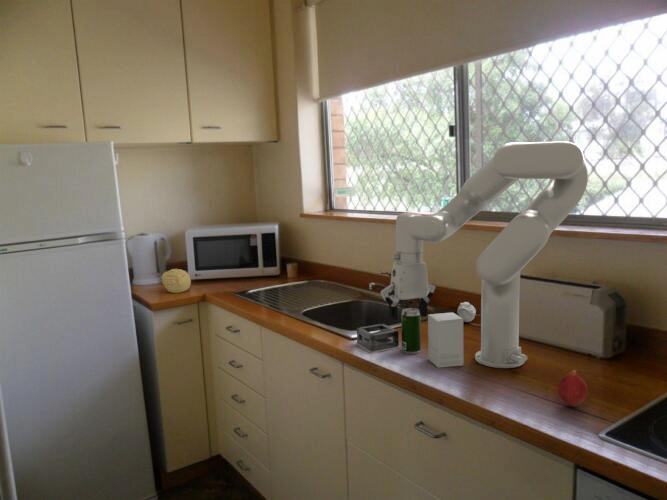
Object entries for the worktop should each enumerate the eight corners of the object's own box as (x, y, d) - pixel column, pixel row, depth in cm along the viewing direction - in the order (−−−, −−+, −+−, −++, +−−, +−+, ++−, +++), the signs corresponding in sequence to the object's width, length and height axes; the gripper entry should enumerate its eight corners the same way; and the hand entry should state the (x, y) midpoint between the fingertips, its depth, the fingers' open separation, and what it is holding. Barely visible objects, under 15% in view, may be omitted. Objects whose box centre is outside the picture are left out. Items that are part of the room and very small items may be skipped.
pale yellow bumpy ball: (159, 293, 241) (157, 270, 240) (176, 288, 252) (174, 265, 251) (179, 295, 237) (177, 271, 235) (196, 289, 248) (194, 266, 246)
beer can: (410, 355, 148) (410, 313, 146) (398, 350, 152) (397, 310, 150) (425, 351, 151) (424, 310, 149) (412, 347, 155) (411, 306, 153)
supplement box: (464, 365, 139) (464, 318, 137) (437, 368, 137) (436, 320, 136) (453, 356, 146) (453, 311, 144) (427, 358, 145) (427, 313, 143)
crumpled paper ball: (453, 323, 178) (453, 302, 177) (462, 318, 183) (462, 298, 182) (471, 325, 174) (471, 305, 173) (479, 320, 180) (479, 300, 179)
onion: (557, 410, 111) (558, 373, 110) (556, 399, 117) (557, 364, 115) (588, 413, 109) (589, 376, 108) (586, 402, 114) (587, 366, 113)
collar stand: (400, 347, 155) (399, 331, 154) (371, 353, 151) (370, 336, 150) (383, 339, 163) (383, 323, 163) (355, 344, 159) (355, 327, 159)
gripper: (389, 262, 141) (388, 324, 143) (443, 257, 148) (441, 317, 150) (375, 257, 148) (374, 317, 150) (427, 253, 155) (426, 310, 157)
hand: (408, 317), depth 150 cm, fingers open, 9 cm apart
